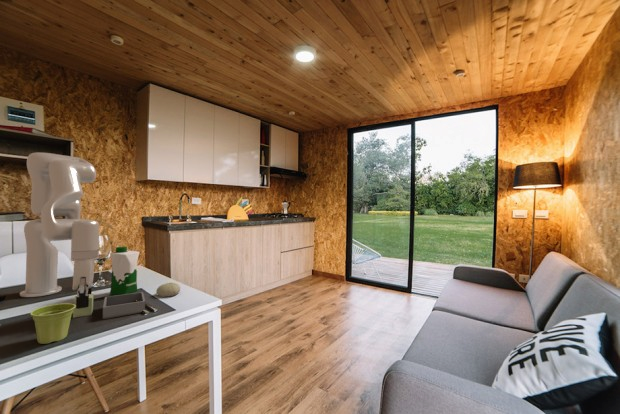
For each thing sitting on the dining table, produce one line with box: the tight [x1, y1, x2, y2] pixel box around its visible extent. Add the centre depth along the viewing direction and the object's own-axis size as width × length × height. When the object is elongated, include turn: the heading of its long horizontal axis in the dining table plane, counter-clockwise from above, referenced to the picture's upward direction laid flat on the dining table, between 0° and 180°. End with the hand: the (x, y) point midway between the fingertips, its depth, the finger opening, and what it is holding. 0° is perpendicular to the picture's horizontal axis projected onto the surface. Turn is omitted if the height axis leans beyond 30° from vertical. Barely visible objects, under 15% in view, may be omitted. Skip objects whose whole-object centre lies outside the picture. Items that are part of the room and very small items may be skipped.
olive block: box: [72, 293, 94, 319], centre depth 94 cm, size 5×5×6 cm
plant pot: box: [30, 302, 76, 345], centre depth 77 cm, size 9×9×9 cm
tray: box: [102, 291, 146, 320], centre depth 99 cm, size 12×12×4 cm
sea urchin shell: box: [156, 282, 181, 298], centre depth 117 cm, size 9×8×8 cm
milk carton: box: [109, 246, 140, 296], centre depth 117 cm, size 9×9×20 cm
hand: (84, 303), depth 94 cm, fingers open, 9 cm apart
